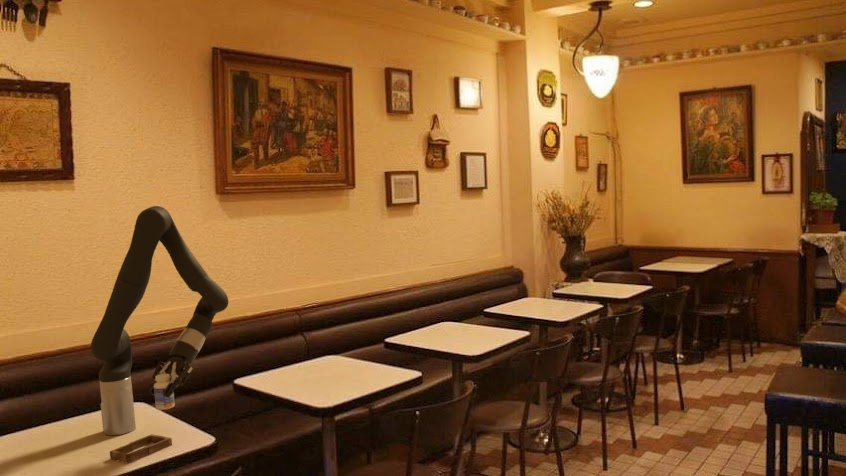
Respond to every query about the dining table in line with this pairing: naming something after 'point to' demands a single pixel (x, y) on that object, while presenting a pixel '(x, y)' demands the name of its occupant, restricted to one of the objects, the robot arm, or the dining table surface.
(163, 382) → the pill bottle
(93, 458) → the dining table surface
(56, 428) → the dining table surface
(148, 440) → the brown wooden rectangular frame
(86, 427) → the dining table surface
